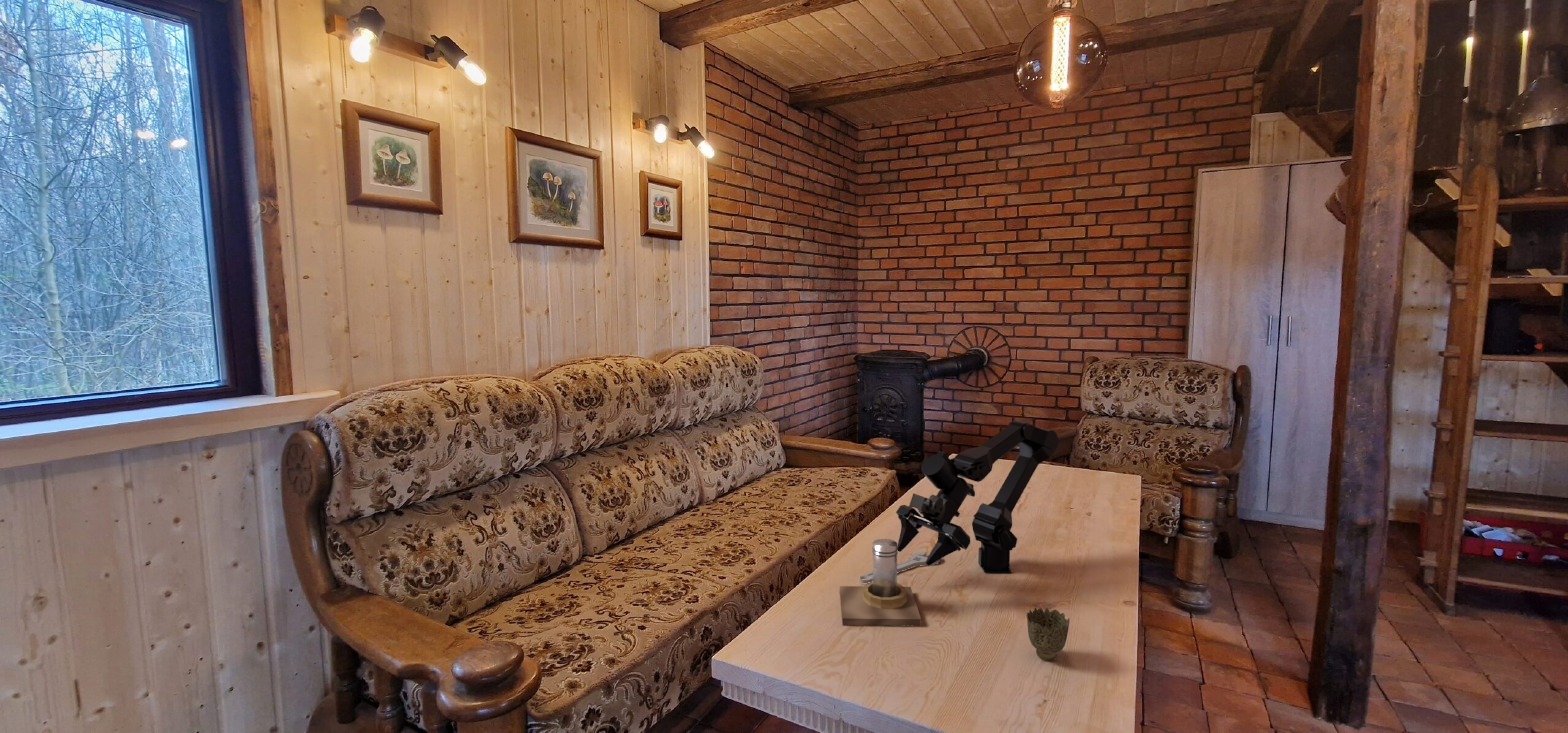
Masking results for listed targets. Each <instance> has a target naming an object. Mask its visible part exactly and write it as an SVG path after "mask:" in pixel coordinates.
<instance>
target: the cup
mask: <svg viewBox="0 0 1568 733" xmlns="http://www.w3.org/2000/svg"><path fill="white" fill-rule="evenodd" d="M1065 617H1066V615H1065V613H1064V612H1062V613H1060V611H1058V610H1057V609H1052V610H1050V609H1049V608H1048V607H1046V608H1045V609H1043V608H1042V607H1039V608H1036V607H1035V608H1034V609H1033V610H1031V609H1029V612H1026V623H1027V633H1028V638H1029V641H1030V644H1031V645H1032V647H1033V648H1034V649H1036V650H1035V652H1036V655H1037V657H1038V658H1039V659H1041V660H1043V661H1055V660H1056V659H1057V656H1058V653H1059V652H1061V651H1062V650H1063V649H1064V647H1065V646H1066V642H1067V639H1068V634H1069V627H1070V620H1071V619H1070V618H1069V617H1068V618H1067V619H1066V618H1065Z"/></svg>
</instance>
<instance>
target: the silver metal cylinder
mask: <svg viewBox="0 0 1568 733" xmlns="http://www.w3.org/2000/svg"><path fill="white" fill-rule="evenodd" d="M897 546H898V542H897V541H896V540H894V539H893V540H892V539H889V538H879V539H874V540H873V542H872V572H873V595H874V596H878V597H888V598H891V597H895V596H897V583H898V573H897V564H898V554H899V551H898V548H897Z"/></svg>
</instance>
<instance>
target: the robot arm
mask: <svg viewBox="0 0 1568 733" xmlns="http://www.w3.org/2000/svg"><path fill="white" fill-rule="evenodd" d="M1059 443H1060V439H1059V436H1058V434H1057V432H1056V431H1055V430H1052V429H1048V428H1047V429H1046V428H1042V427H1038V426H1033V425H1032V424H1030V423H1029V422H1025V421H1024V422H1023V421H1019V420H1011V421H1010V422H1009V423H1008V425H1007V426H1006V427H1005V428H1003V429H1001V431H999V432H998V433H996V434H995V435H994V436H992V437H991V438H989V439H988V440H987V441H985V442H984V443H983V444H981V445H979V446H977V447H972V448H967V449H965V450H963V451H961V452H958V453H957V454H956V455H955V456H954V457H952V458H949V455H948V454H947V453H946V452H943V451H942V450H941V451H940V450H939V451H938V452H937V453H936V454H933V455H931V456H929V457H927V458H926V459H924V460H923V462H922V464H921V466H920V467H921V473H922V474H923V475H924V476H925V477H926V478H927V480H929V482H930V483H931V484H932V485H933V486H934V488H936V489H938V490H939V491H938V492H937V494H936V495H935V494H931V495H929V497H925V496H922V495H919V494H917V493H915V492H913V493H912V496H911V498H910V502H909V505H906V504H903V505H899V507H898V508H897V510H896V512H895V514H897V517H898V519H899V521H900V523H901V524H900V527H901V528H900V534H899V537H898V542H897V548H898V550H897V551H898V553H901V552H902V551H903V550H904V549H905V548H906V547H907V546H908V545H909V544H910V543H911V542H912V541H913V540H914V539H915V537H917V535H918V534H919V533H920V531H919V530H920V529H921V528H923V527H925V528H927V529H929V530H932V531H933V532H934V531H935V532H936V533H937V541H936V543H935V544H934V546H933V548H932V550H930V553H929V555H927V557H928V558H927V560H926V564H927V565H928V566H927V567H929V565H931V564H933V563H934V562H936V561H938V560H939V559H940V560H941V559H942V558H944V557H946V556H948V555H950V554H952V553H954V552H956V551H958V552H960V551H961V550H963V549H964V550H965V551H966V550H967V549H968V548H969V546H970V545H971V536H970V535H969V534H968V533H967V532H966V531H965V530H964V529H963V528H962V527H961V525H957V524H955V523H953V522H952V520H953V519H954V517H956V518H959V516H960V514H961V513H960V512H959V509H960V507H961V506H962V504H963V502H964V501H965V499H966V498H967V496H970V497H975V496H976V492H975V488H974V487H975V486H974V484H972V483H969V482H967V480H970V481H973V482H977V483H979V482H981V481H983V480H984V479H985V478H986V477H987V476H988V475H989V474H990V473H991V472H992V470H993V467H994V466H993V465H994V464H995V463H996V462H997V461H998V460H1000V459H1001V458H1002V457H1003V456H1005V455H1006V454H1008V452H1010V451H1011V450H1012V449H1014V448H1015V447H1016V446H1019V455H1018V456H1017V459H1016V460H1015V462H1014V463H1013V465H1012V467H1011V469H1010V471H1009V473H1008V474H1007V476H1006V478H1005V479H1004V481H1003V483H1002V485H1001V486H1000V488H999V490H998V491H997V493H996V496H995V497H994V499H993V501H992V502H990V503H989V504H987V503H983V502H982V503H981V504H980V505H979V507H978V508H977V509H978V510H977V511H976V513H975V514H974V515H973V520H972V522H971V527H972V531H973V535H974V538H975V541H977V542H979V543H980V547H978V557H977V558H978V561H977V563H978V565H979V567H980V568H981V569H982V570H983V573H984V574H985V573H986V574H988V573H989V574H1011V573H1012V572H1013V571H1012V569H1011V567H1010V563H1011V562H1010V560H1011V559H1010V558H1011V555H1010V554H1011V551H1013V549H1015V548H1016V546H1017V543H1018V538H1017V537H1016V536H1015V534H1014V533H1013V532H1012V531H1011V529H1012V527H1013V516H1012V513H1013V511H1014V509H1015V507H1016V505H1017V504H1018V501H1019V500H1020V498H1021V496H1022V495H1023V493H1024V491H1025V490H1026V488H1027V486H1028V484H1029V482H1030V480H1031V478H1032V477H1033V476H1034V473H1035V472H1036V469H1037V468H1038V466H1039V465H1040V464H1041V463H1043V462H1045V461H1046V460H1049V459H1051V457H1052V455H1053V454H1054V453H1055V452H1056V450H1057V448H1058V447H1059ZM966 479H967V480H966ZM916 509H917V510H918V511H917V510H916ZM931 566H932V565H931Z"/></svg>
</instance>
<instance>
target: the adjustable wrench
mask: <svg viewBox="0 0 1568 733" xmlns="http://www.w3.org/2000/svg"><path fill="white" fill-rule="evenodd" d="M926 555H927V551H918V552H914V553H910V555H909V559H907V560H905V561H903V562H899V563H898V562H897V572H899V571H902V570H905V569H908V568H911V567H913V566H920V565H927V564H926V560H927V558H928V555H927V557H926ZM939 562H940V563H941V559H939V560H938V561H936V562H934V563H933V564H931V566H935V565H934V564H937V563H939ZM940 563H939V564H940ZM937 565H938V564H937ZM920 567H921V566H920ZM911 569H912V568H911ZM862 579H867V580H862ZM858 580H859V581H860V582H861V583H868V582H872V581H873V571H872V572H869V573H866V574H863V575H860V576H859V578H858ZM860 582H859V583H860ZM861 583H860V584H861Z"/></svg>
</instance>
